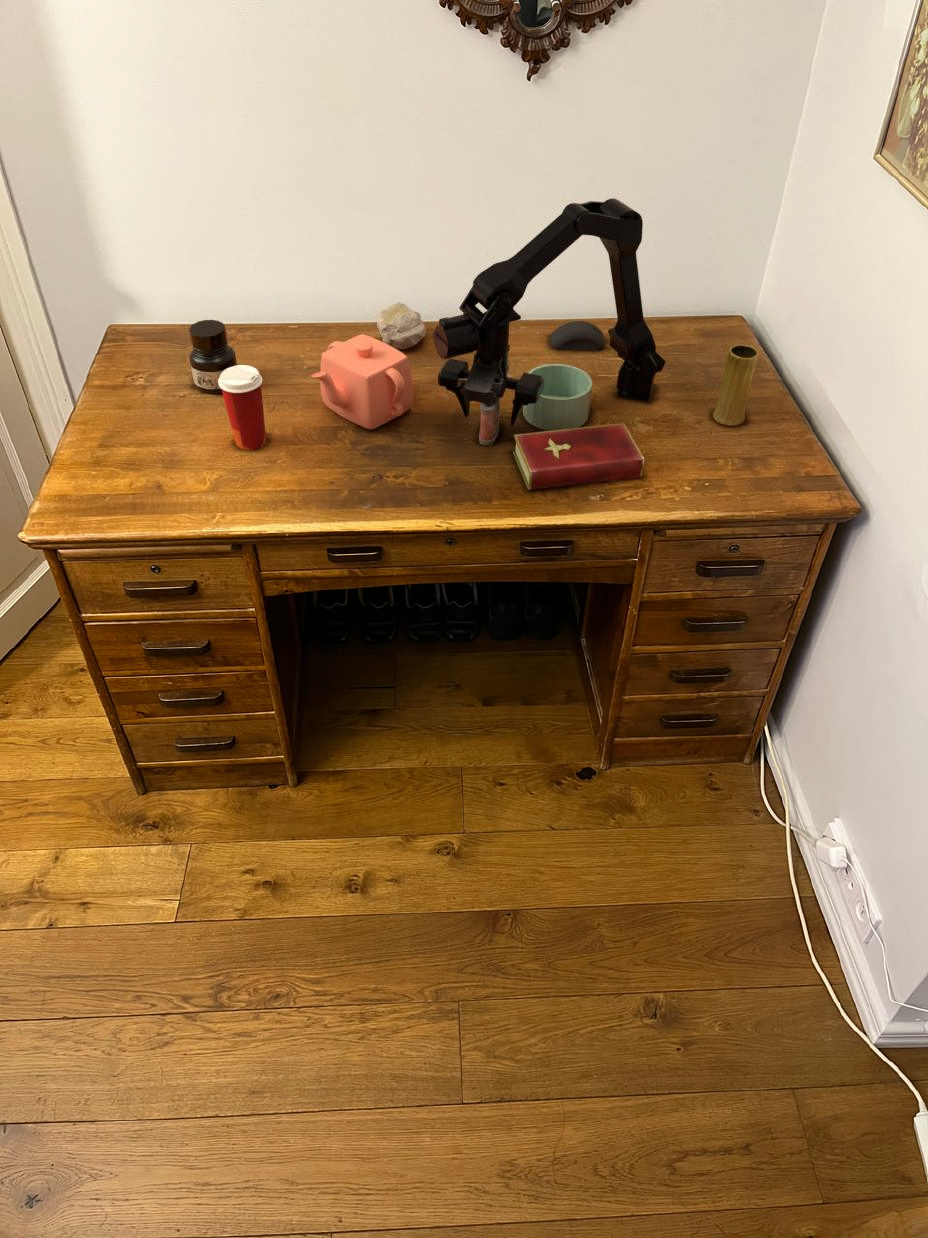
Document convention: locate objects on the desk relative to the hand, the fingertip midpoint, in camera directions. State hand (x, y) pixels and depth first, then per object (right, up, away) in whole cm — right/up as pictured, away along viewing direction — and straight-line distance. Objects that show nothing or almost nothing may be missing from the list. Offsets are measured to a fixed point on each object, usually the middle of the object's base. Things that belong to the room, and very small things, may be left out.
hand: (489, 420), depth 184 cm
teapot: (-26, +2, +6) cm, 26 cm away
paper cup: (-45, -4, -1) cm, 45 cm away
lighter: (0, -2, +2) cm, 3 cm away
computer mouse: (+19, +22, +27) cm, 40 cm away
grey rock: (-18, +22, +26) cm, 38 cm away
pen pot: (+13, +3, +7) cm, 15 cm away
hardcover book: (+16, -9, -5) cm, 19 cm away
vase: (+47, +2, +6) cm, 47 cm away
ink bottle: (-54, +10, +14) cm, 57 cm away
